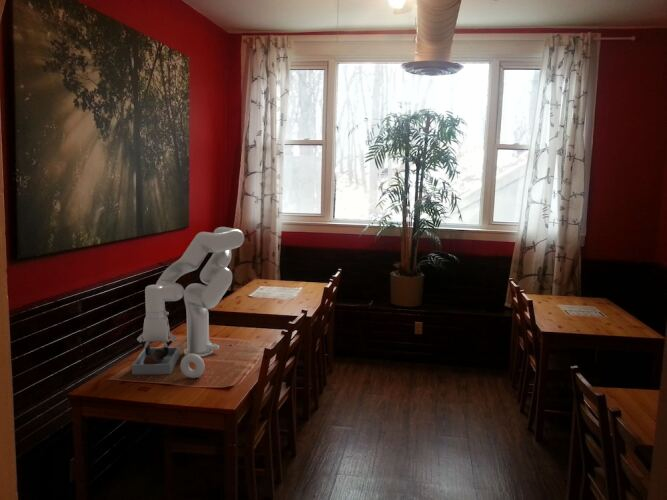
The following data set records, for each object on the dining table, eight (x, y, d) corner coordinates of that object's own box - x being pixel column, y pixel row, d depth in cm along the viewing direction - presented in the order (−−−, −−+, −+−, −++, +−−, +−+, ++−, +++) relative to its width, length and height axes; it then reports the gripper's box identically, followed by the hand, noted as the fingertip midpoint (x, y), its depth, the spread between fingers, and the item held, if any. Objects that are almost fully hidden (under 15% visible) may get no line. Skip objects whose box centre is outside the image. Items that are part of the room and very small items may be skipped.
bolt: (166, 358, 233) (151, 371, 218) (156, 352, 233) (141, 364, 218) (172, 347, 232) (158, 359, 217) (162, 341, 232) (147, 353, 217)
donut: (206, 377, 213) (205, 353, 212) (202, 380, 210) (202, 356, 208) (182, 375, 215) (182, 351, 213) (179, 378, 212) (178, 354, 210)
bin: (180, 355, 237) (179, 347, 236) (170, 374, 216) (170, 364, 215) (145, 356, 235) (144, 347, 234) (132, 374, 214) (131, 365, 214)
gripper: (178, 311, 227) (179, 352, 230) (136, 312, 225) (138, 353, 228) (175, 316, 219) (176, 358, 222) (131, 317, 218) (133, 359, 220)
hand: (157, 355), depth 225 cm, fingers open, 6 cm apart
